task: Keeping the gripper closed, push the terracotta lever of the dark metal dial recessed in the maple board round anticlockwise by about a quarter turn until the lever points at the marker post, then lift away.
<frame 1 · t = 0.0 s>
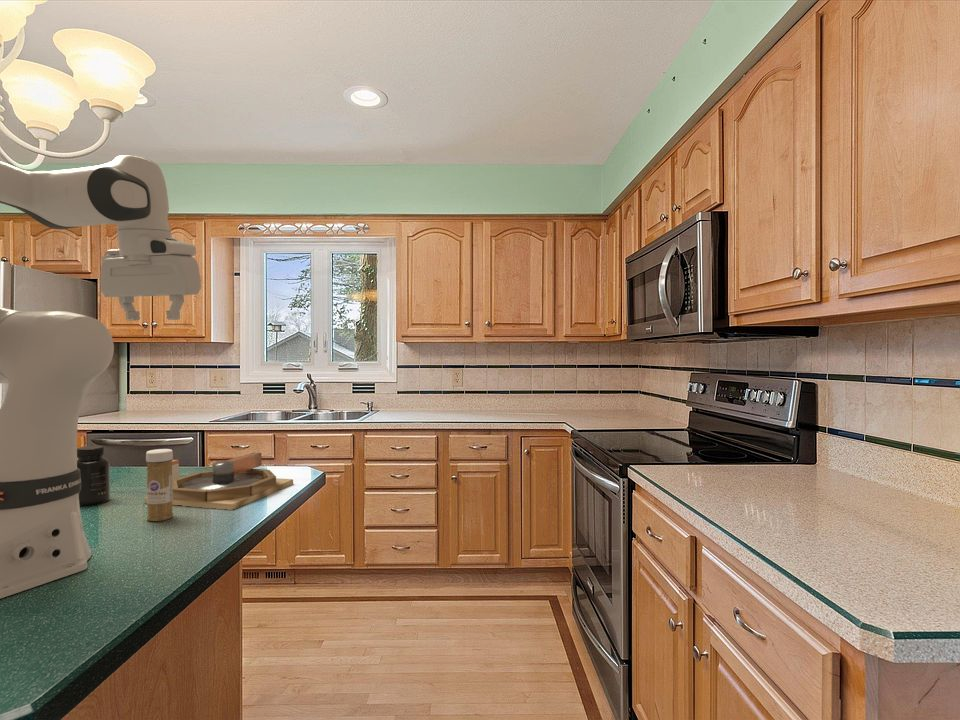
hand: (153, 320, 106), 39 cm above the countertop, tool pointing down, fingers open, 8 cm apart
dial housing: (223, 493, 127), on the countertop
supplement bottle: (91, 503, 120), on the countertop
sprinkles bottle: (160, 519, 108), on the countertop
marker post: (171, 489, 130), on the countertop
dial: (229, 472, 128), point 4 cm above the countertop, hinge at 0.0°
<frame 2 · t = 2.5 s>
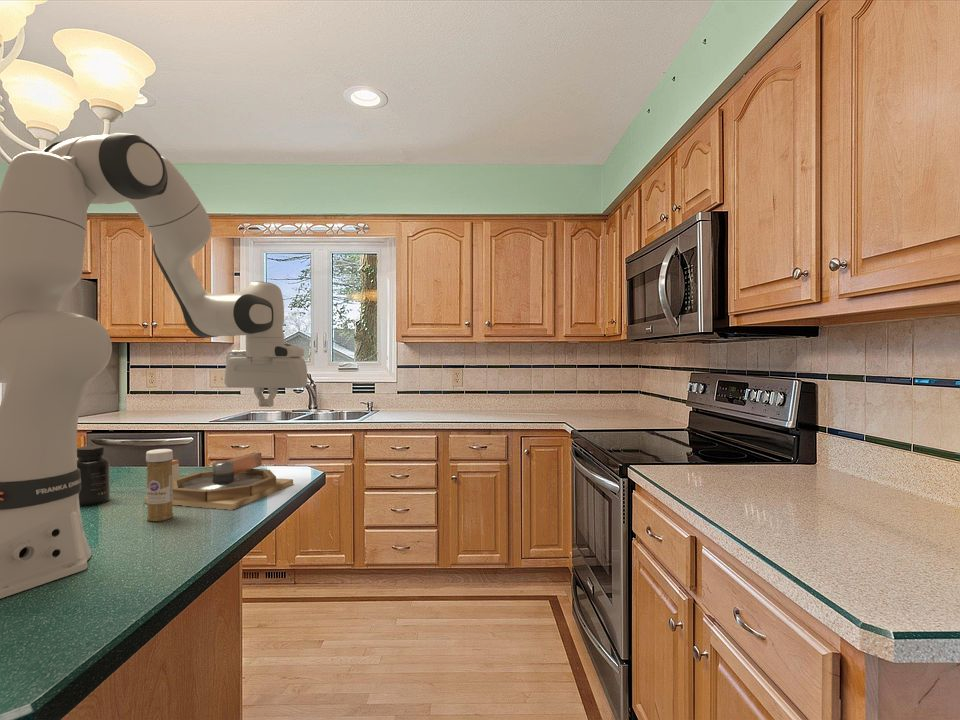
hand: (266, 406, 134), 19 cm above the countertop, tool pointing down, fingers closed
nothing on the countertop moved.
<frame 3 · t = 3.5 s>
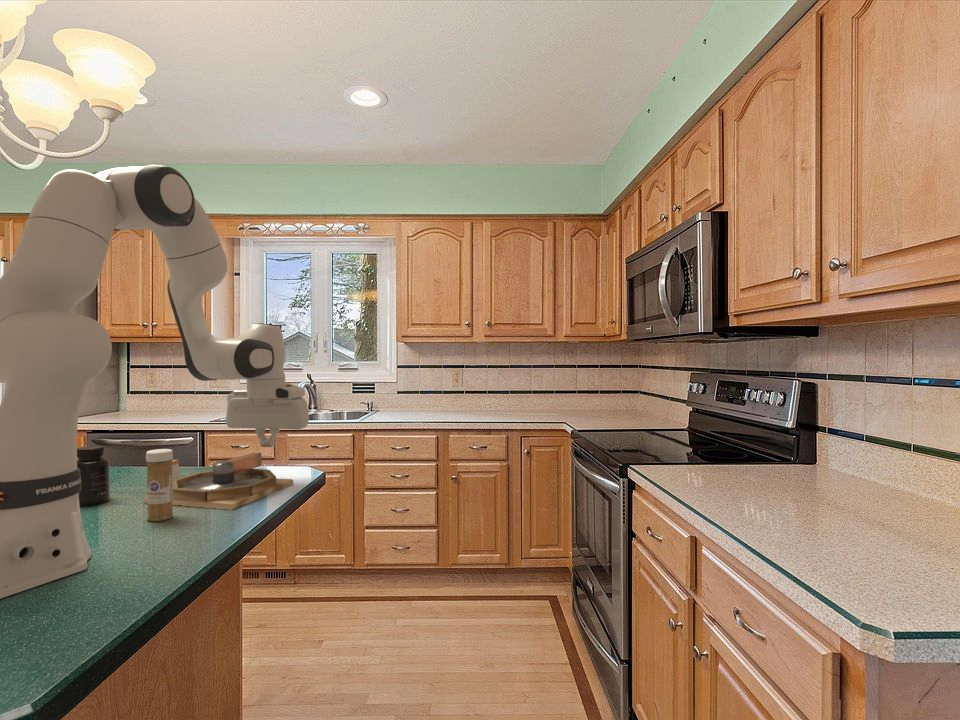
hand: (267, 446, 135), 9 cm above the countertop, tool pointing down, fingers closed
nothing on the countertop moved.
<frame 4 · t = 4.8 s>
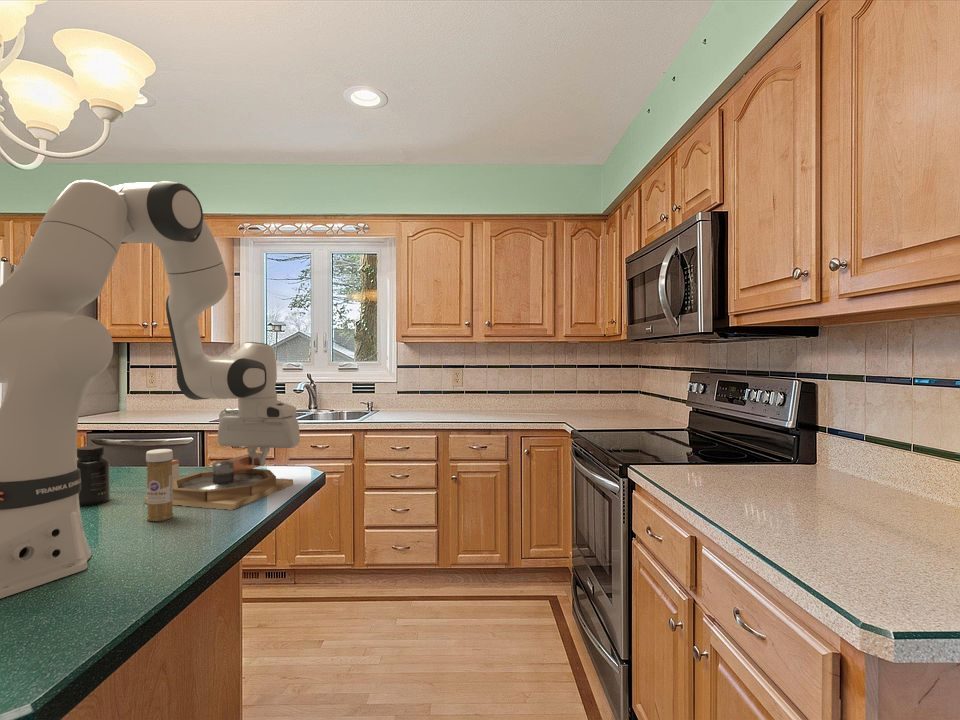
hand: (258, 465, 135), 5 cm above the countertop, tool pointing down, fingers closed
dial: (229, 472, 128), point 4 cm above the countertop, hinge at 0.4°, touching gripper
everything else where it was.
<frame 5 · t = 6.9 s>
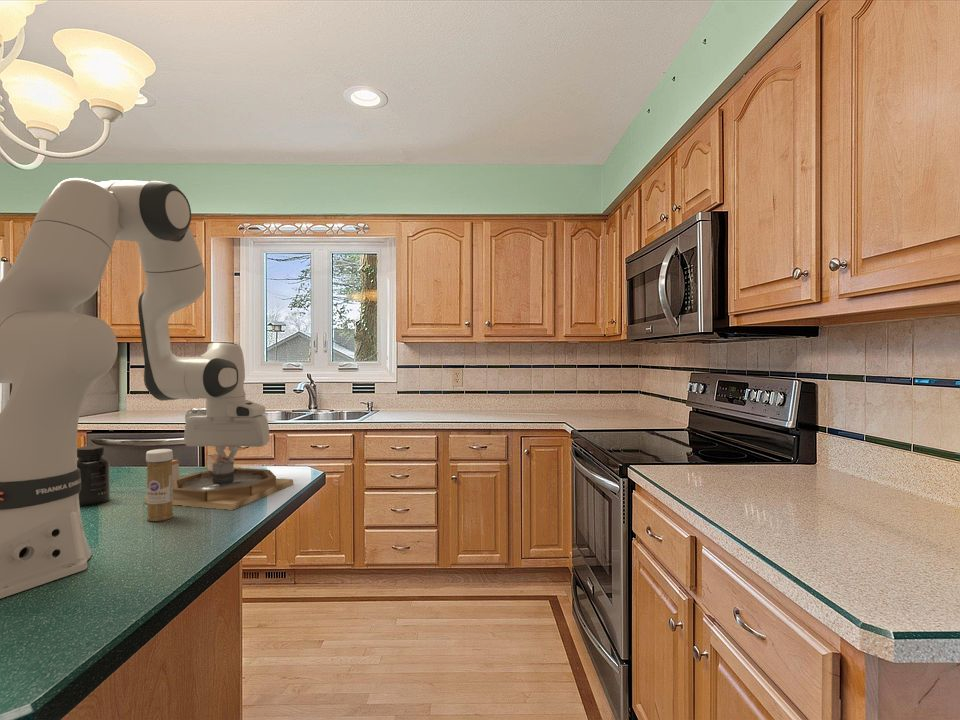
hand: (227, 464, 135), 5 cm above the countertop, tool pointing down, fingers closed
dial: (221, 473, 128), point 4 cm above the countertop, hinge at 50.7°, touching gripper
everything else where it was.
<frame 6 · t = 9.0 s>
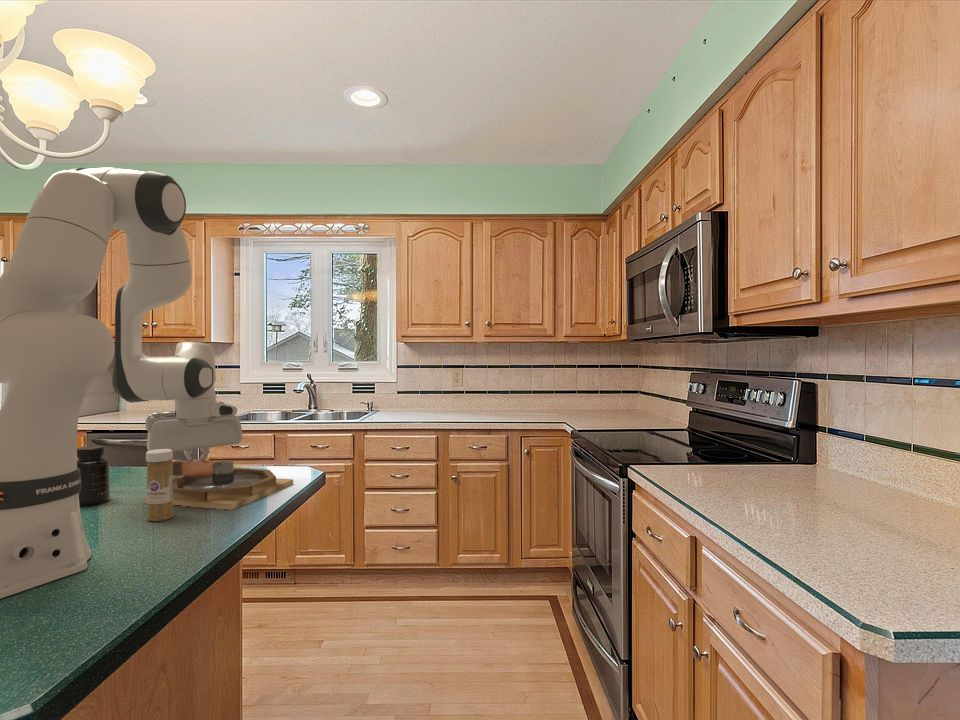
hand: (197, 467, 131), 5 cm above the countertop, tool pointing down, fingers closed
dial: (215, 474, 127), point 4 cm above the countertop, hinge at 92.1°
everything else where it was.
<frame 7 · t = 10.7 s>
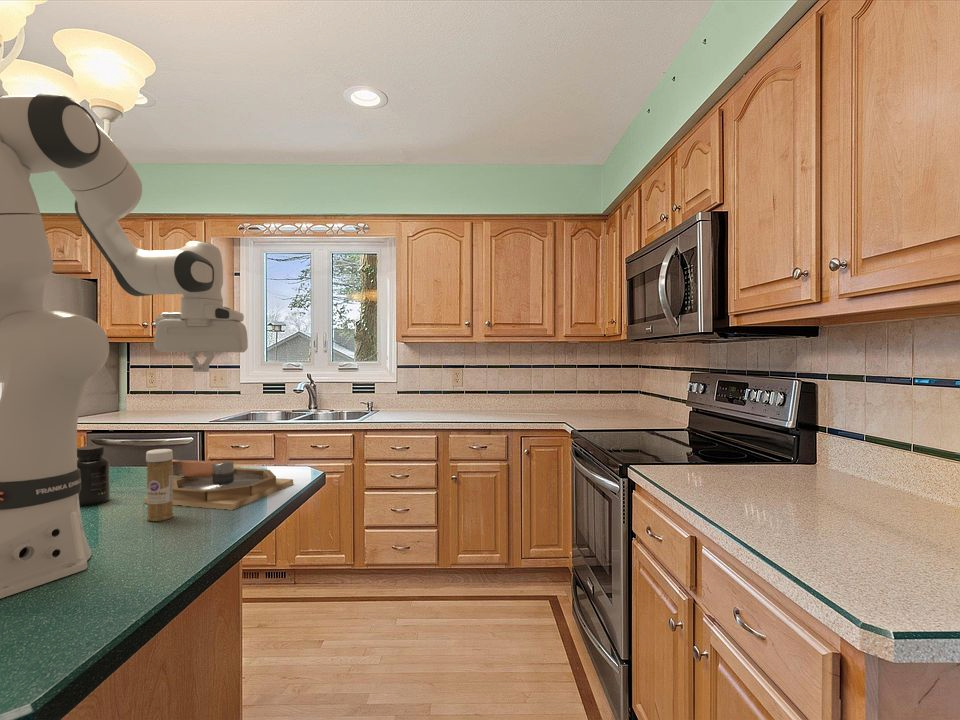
hand: (201, 371, 129), 28 cm above the countertop, tool pointing down, fingers closed
nothing on the countertop moved.
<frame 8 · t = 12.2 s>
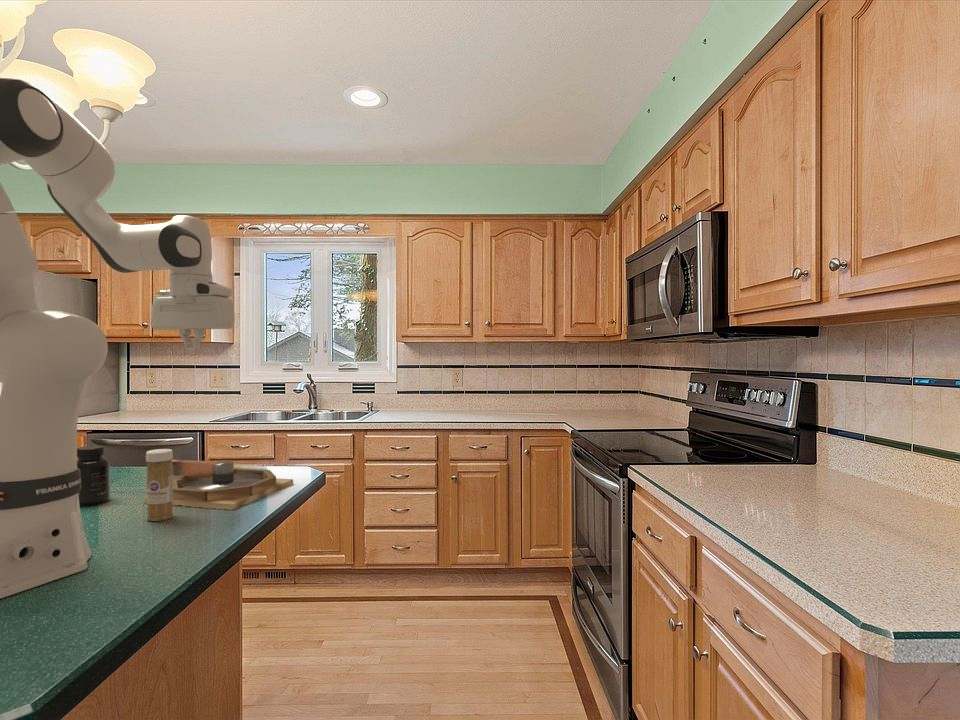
hand: (192, 349, 127), 33 cm above the countertop, tool pointing down, fingers closed
nothing on the countertop moved.
at the end: dial at +92° (first picture: +0°) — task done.
